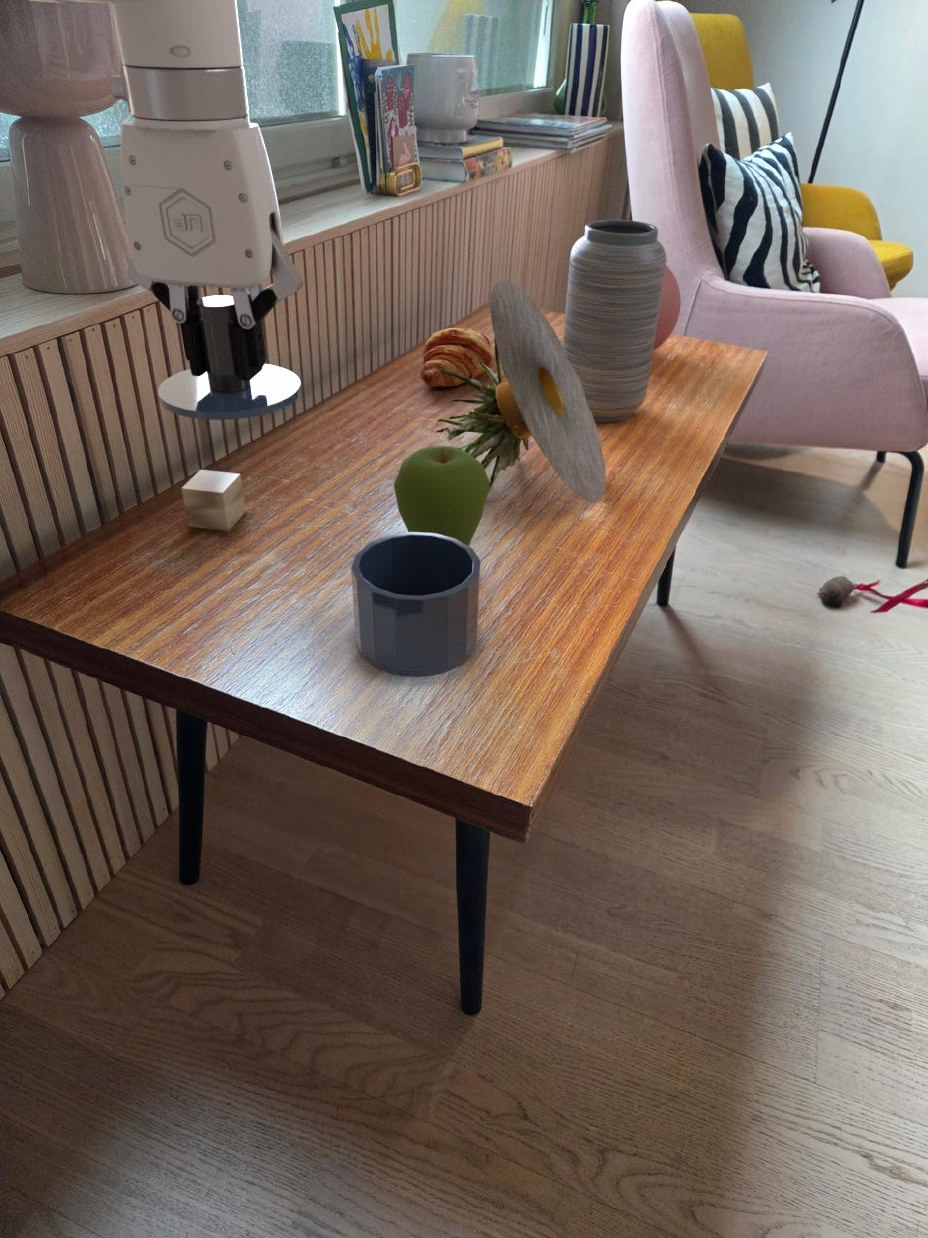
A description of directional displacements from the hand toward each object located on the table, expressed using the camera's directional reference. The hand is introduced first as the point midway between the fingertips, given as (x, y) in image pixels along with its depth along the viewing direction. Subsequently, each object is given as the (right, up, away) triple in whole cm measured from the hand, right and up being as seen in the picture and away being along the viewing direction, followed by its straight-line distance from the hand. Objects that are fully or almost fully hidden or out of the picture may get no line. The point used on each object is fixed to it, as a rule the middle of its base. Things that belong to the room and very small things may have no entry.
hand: (227, 370), depth 67 cm
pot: (+14, -21, +6) cm, 26 cm away
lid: (0, -1, +1) cm, 2 cm away
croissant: (+18, +17, +59) cm, 64 cm away
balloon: (+43, +20, +65) cm, 80 cm away
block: (-7, -9, +22) cm, 25 cm away
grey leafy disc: (+25, -3, +31) cm, 40 cm away
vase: (+37, +9, +49) cm, 62 cm away
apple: (+16, -14, +17) cm, 27 cm away
